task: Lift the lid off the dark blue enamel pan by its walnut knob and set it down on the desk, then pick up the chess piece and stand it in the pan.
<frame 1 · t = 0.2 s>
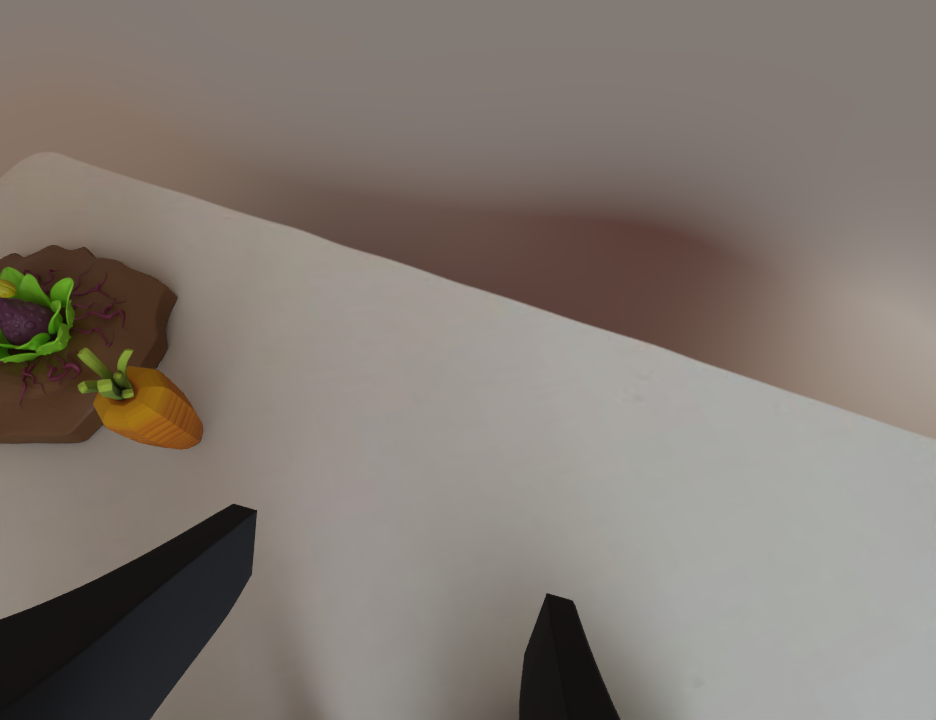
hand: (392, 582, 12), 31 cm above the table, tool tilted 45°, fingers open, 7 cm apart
plant: (63, 347, 49), on the table
carrot: (198, 441, 45), on the table
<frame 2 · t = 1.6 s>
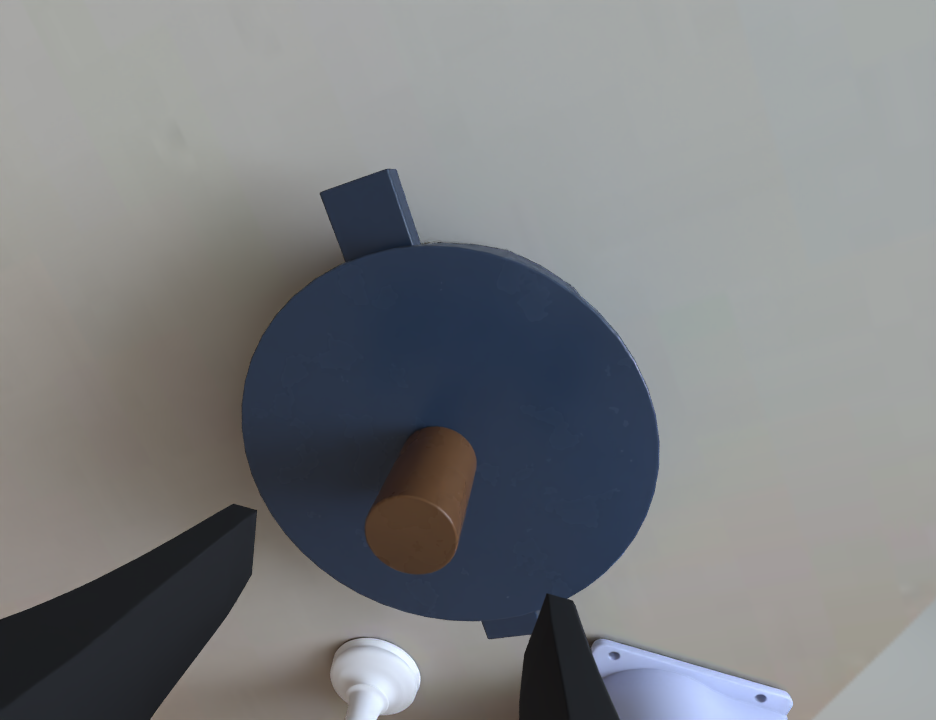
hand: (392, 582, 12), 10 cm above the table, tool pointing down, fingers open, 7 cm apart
pan lid: (442, 452, 18), point 4 cm above the table, touching pan
chess piece: (377, 668, 28), on the table
pan: (459, 404, 22), on the table
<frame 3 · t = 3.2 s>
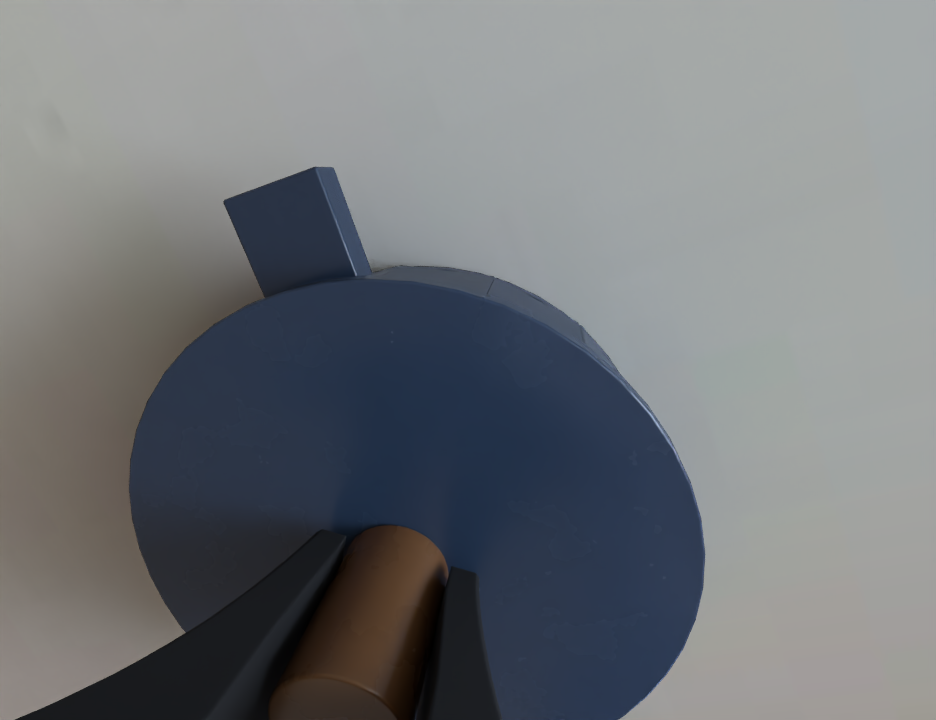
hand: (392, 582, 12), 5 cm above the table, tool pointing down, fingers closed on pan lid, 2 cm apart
pan lid: (402, 553, 13), point 4 cm above the table, touching gripper, pan
pan: (434, 469, 17), on the table
when the fingers open (2 cm above the table, at t = 8.0 s): pan lid stays where it is, point 1 cm above the table.
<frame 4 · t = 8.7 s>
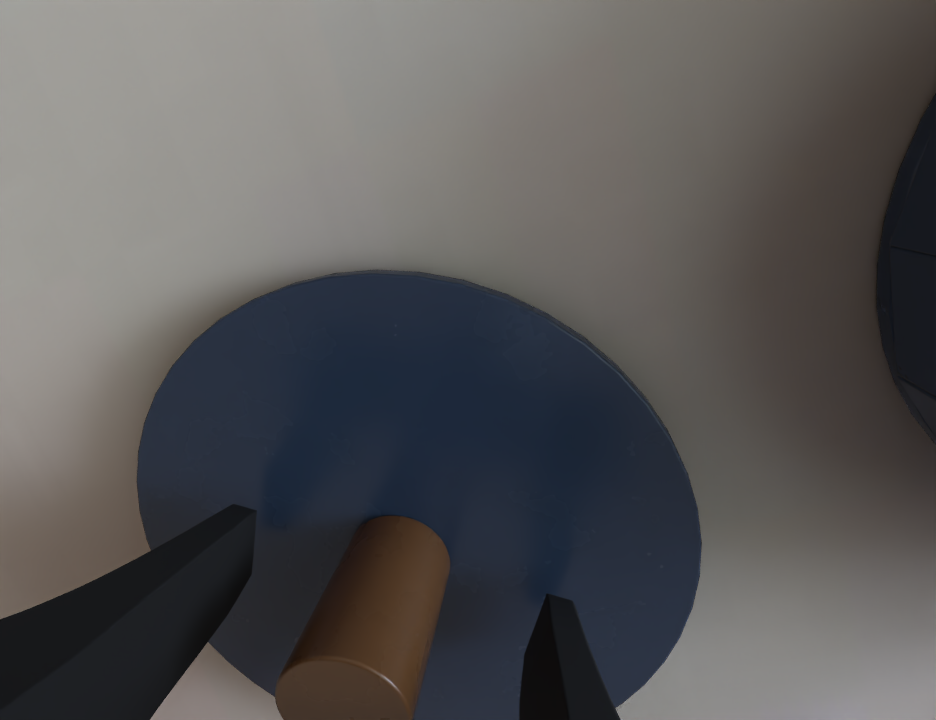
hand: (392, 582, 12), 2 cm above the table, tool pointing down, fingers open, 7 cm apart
pan lid: (405, 543, 13), point 1 cm above the table
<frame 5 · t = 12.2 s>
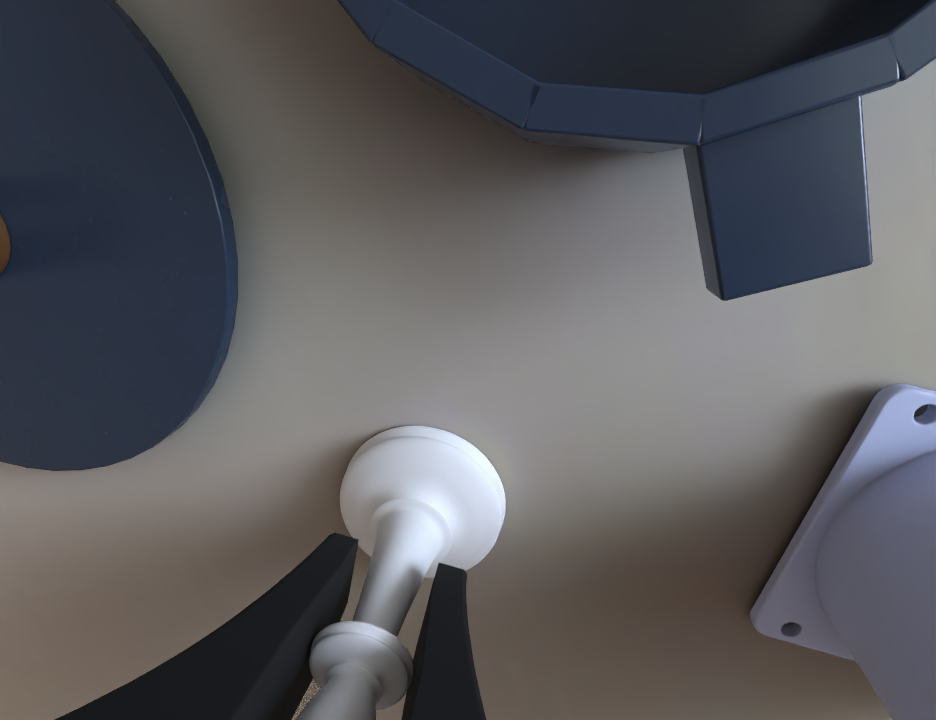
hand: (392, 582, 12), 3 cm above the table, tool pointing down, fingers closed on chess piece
chess piece: (425, 494, 16), on the table, touching gripper
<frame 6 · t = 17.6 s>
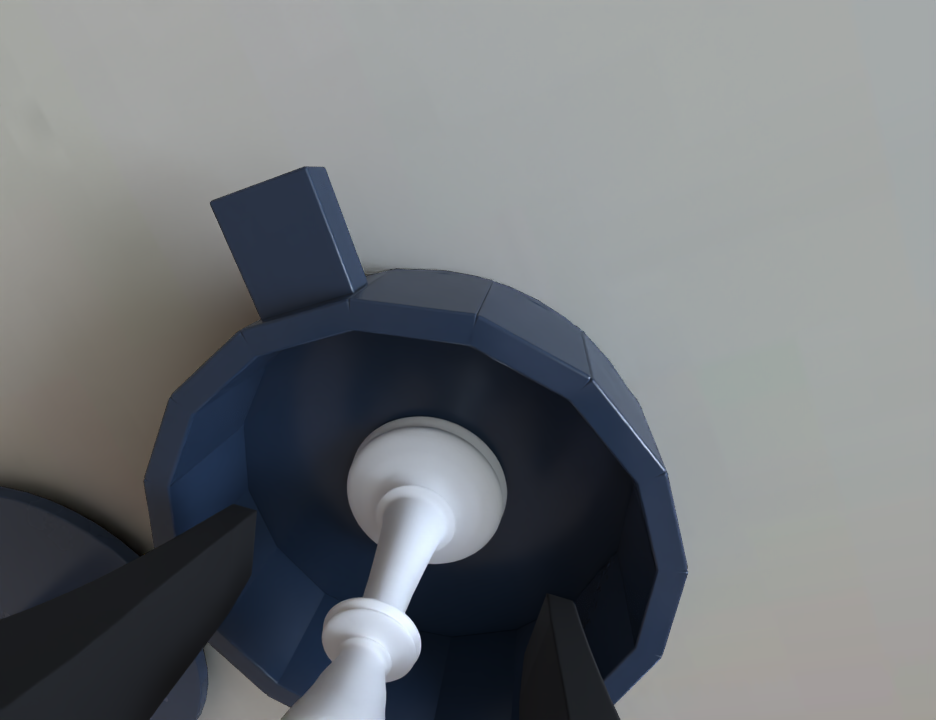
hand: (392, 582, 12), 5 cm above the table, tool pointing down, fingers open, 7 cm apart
pan lid: (44, 633, 21), point 1 cm above the table
chess piece: (429, 483, 16), resting on pan
pan: (431, 477, 16), on the table
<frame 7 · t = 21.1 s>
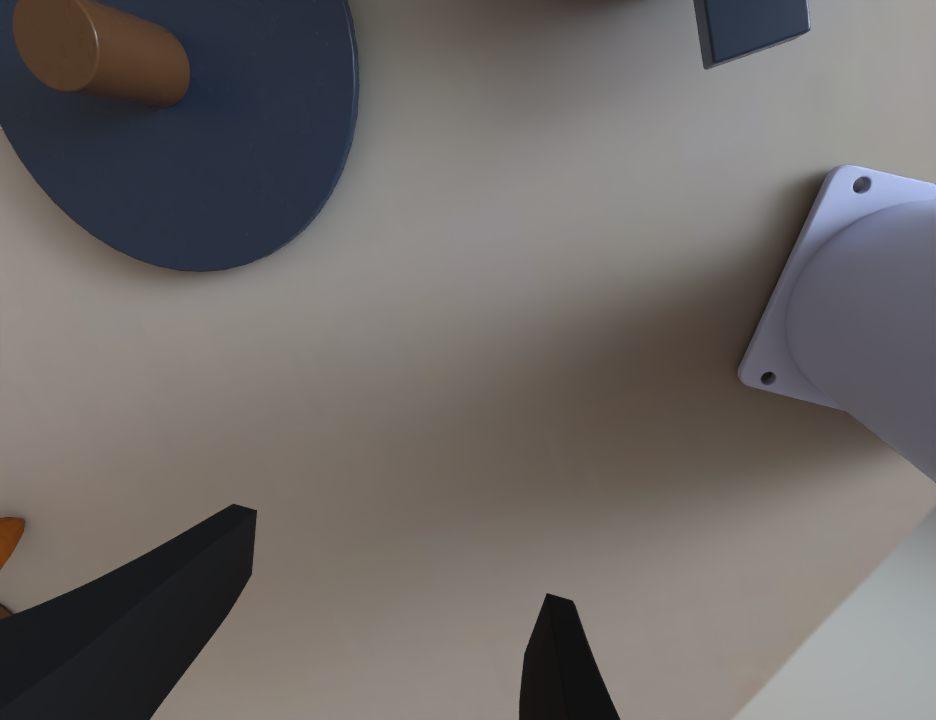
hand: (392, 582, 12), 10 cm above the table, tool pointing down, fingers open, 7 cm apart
carrot: (25, 518, 28), on the table
pan lid: (166, 69, 18), point 1 cm above the table
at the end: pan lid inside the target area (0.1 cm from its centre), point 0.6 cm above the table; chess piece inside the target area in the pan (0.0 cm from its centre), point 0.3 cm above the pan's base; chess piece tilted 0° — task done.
